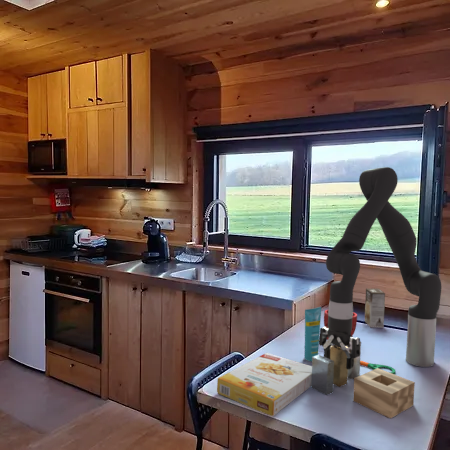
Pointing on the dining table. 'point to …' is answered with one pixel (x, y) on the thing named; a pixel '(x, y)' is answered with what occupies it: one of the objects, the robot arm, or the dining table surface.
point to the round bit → (355, 367)
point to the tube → (312, 332)
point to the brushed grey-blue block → (322, 374)
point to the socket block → (384, 392)
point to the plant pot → (352, 322)
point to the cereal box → (266, 383)
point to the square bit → (339, 365)
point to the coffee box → (374, 307)
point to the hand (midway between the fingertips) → (338, 364)
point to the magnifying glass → (377, 366)
